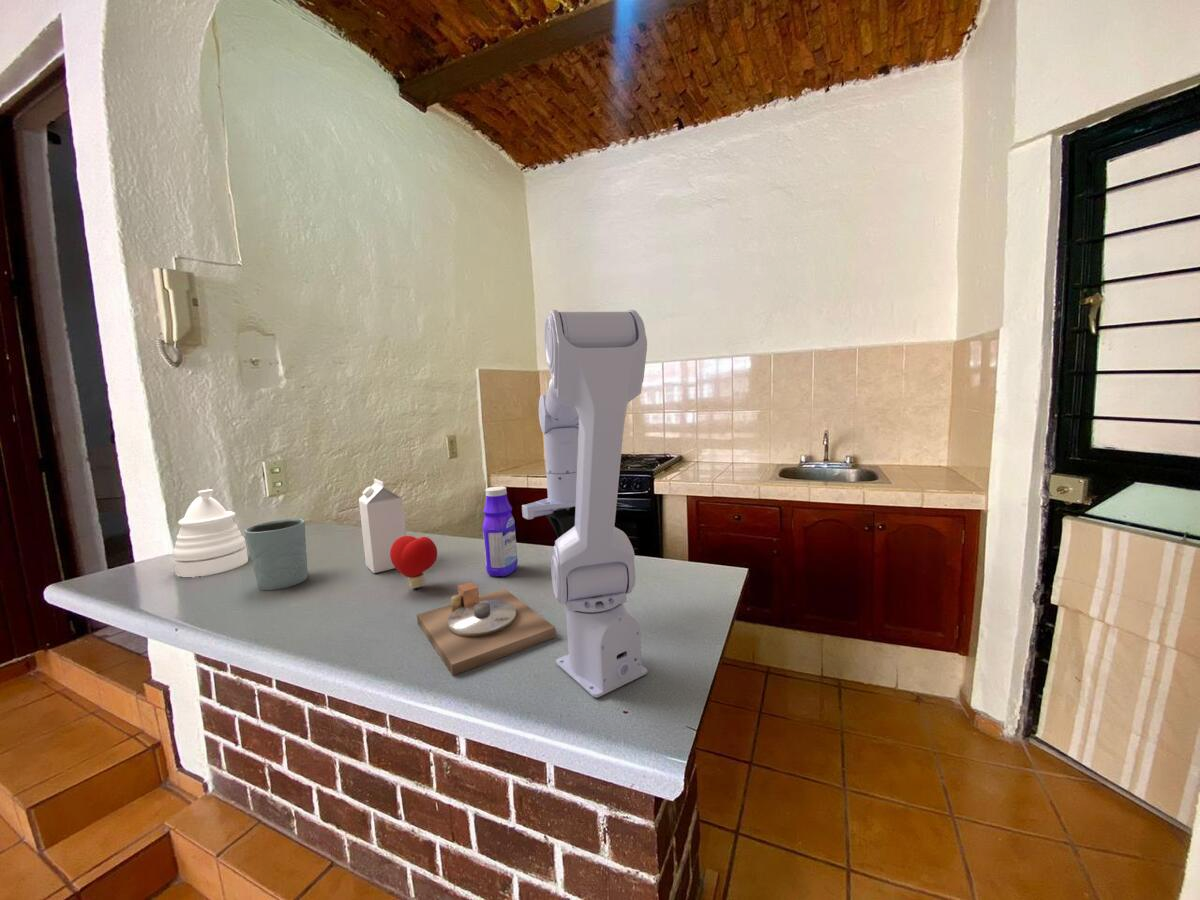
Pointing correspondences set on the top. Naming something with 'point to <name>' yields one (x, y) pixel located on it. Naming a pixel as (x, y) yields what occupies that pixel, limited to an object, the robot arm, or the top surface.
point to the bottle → (499, 533)
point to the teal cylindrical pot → (278, 553)
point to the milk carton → (380, 525)
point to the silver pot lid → (472, 626)
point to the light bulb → (413, 558)
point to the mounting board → (484, 649)
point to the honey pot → (208, 539)
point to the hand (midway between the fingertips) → (569, 554)
